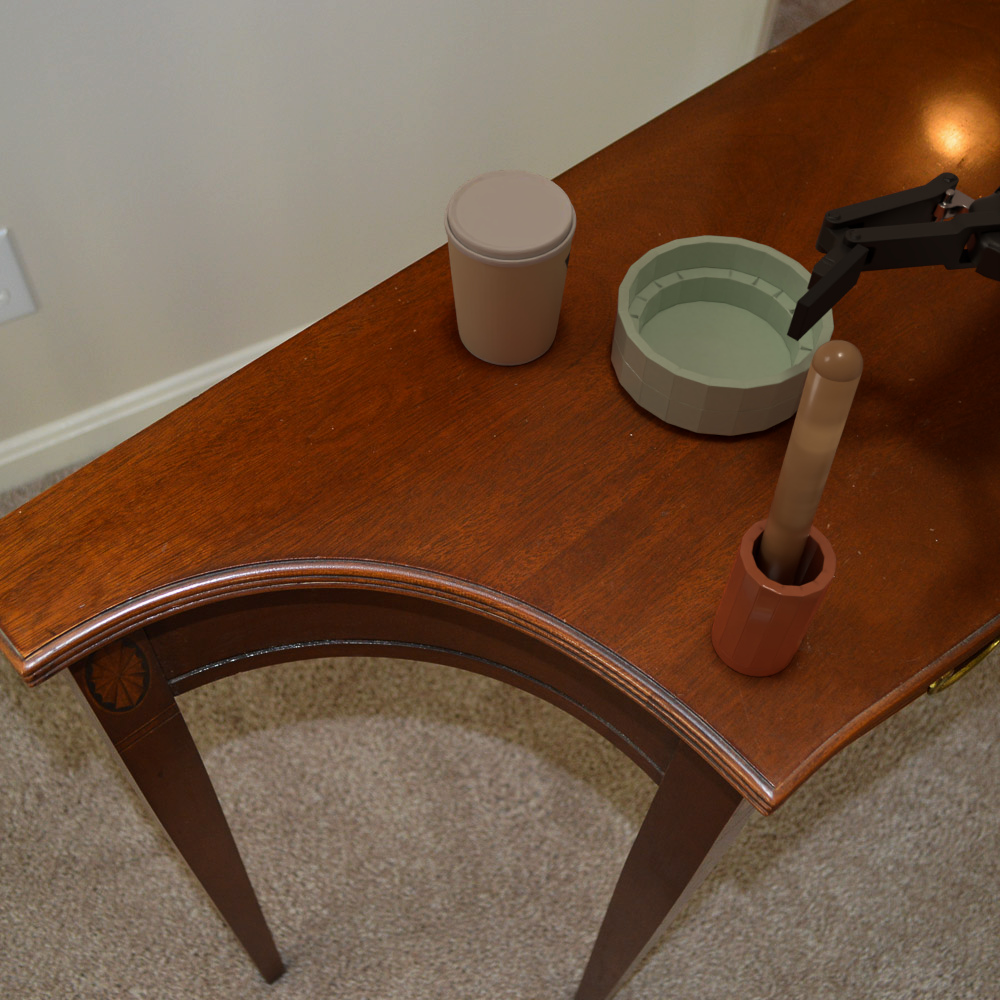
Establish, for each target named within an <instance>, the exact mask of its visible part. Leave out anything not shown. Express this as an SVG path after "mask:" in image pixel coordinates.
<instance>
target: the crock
mask: <svg viewBox="0 0 1000 1000" xmlns="http://www.w3.org/2000/svg"><path fill="white" fill-rule="evenodd" d="M767 519H768V517H767V518H765V519H764V518H763V519H761V520H759V521H756V522H754V523H753V524H752V525H751V526H750V528H749V529H748V530H746V532H745V533H744V534H743V535H742V538H741V540H740V542H739V546H738V549H737V552H736V555H735V557H734V560H733V563H732V566H731V569H730V572H729V574H728V578H727V580H726V583H725V586H724V588H723V592H722V595H721V597H720V601H719V603H718V606H717V609H716V612H715V615H714V620H713V623H712V626H711V629H710V630H711V631H710V637H711V643H712V646H713V649H714V651H715V653H716V655H717V656H718V657H719V659H720V660H721V661H722V662H723V663H724V664H725V665H727V667H729V668H730V669H732V670H734V671H735V672H738V673H739V674H742V675H746V676H750V677H755V678H756V677H760V678H762V677H769V676H773V675H774V674H775V675H776V674H778V673H779V672H781V671H782V670H785V668H786V667H788V665H789V664H790V663H791V662H792V660H793V658H794V656H795V654H796V653H797V652H798V650H799V648H800V646H801V644H802V642H803V640H804V638H805V636H806V634H807V632H808V630H809V628H810V626H811V624H812V622H813V620H814V618H815V616H816V614H817V612H818V610H819V608H820V606H821V604H822V602H823V599H824V598H825V596H826V594H827V592H828V590H829V588H830V586H831V584H832V582H833V580H834V578H835V575H836V568H837V556H836V553H835V551H834V549H833V546H832V544H831V541H830V540H829V539H828V538H827V537H826V536H825V535H824V534H823V533H822V531H820V530H819V529H818V528H817V527H816V526H814V524H812V526H811V529H810V532H809V535H808V538H807V541H806V544H805V547H804V550H803V553H802V556H801V560H800V563H799V566H798V569H797V572H796V575H795V578H794V581H793V584H792V586H789V585H782V584H779V583H777V582H775V581H773V580H770V579H768V578H767V577H766V576H765V575H764V574H763V573H762V572H761V571H760V570H759V569H758V568H757V566H756V563H755V562H756V559H757V555H758V551H759V548H760V544H761V541H762V537H763V533H764V530H765V526H766V523H767Z"/></svg>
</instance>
